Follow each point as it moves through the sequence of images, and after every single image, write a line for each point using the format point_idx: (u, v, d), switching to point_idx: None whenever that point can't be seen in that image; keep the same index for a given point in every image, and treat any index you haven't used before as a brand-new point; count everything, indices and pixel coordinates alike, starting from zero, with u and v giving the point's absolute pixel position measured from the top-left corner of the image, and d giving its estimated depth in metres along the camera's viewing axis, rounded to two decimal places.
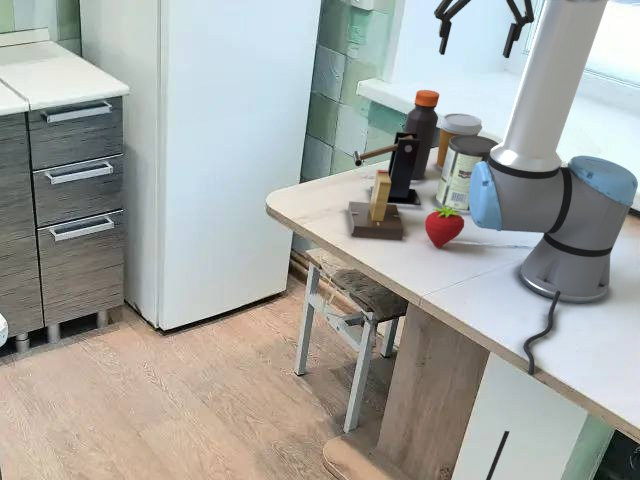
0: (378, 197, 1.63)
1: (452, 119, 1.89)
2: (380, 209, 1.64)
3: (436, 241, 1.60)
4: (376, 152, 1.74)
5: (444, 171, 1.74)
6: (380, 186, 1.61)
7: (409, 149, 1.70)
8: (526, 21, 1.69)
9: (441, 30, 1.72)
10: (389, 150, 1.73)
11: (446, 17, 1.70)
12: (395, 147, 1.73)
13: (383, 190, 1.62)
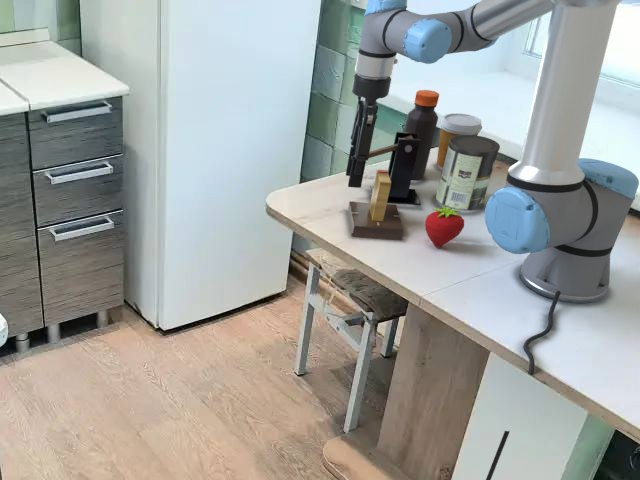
0: (378, 197, 1.63)
1: (452, 119, 1.89)
2: (380, 209, 1.64)
3: (436, 241, 1.60)
4: (376, 152, 1.74)
5: (444, 171, 1.74)
6: (380, 186, 1.61)
7: (409, 149, 1.70)
8: (357, 159, 1.71)
9: None
10: (389, 150, 1.73)
11: (351, 141, 1.78)
12: (395, 147, 1.73)
13: (383, 190, 1.62)
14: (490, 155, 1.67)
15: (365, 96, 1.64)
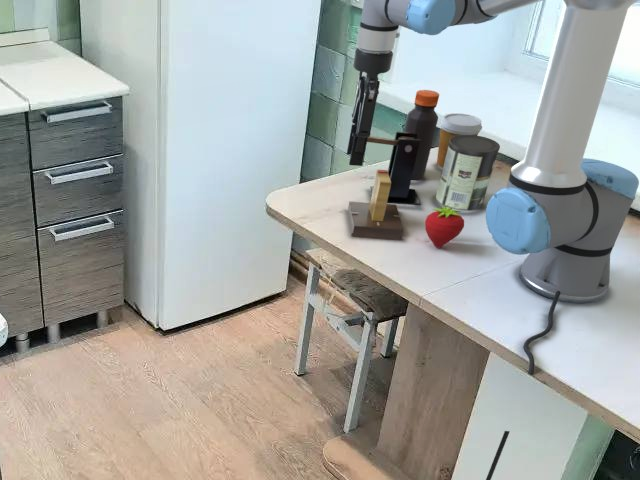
0: (378, 197, 1.63)
1: (452, 119, 1.89)
2: (380, 209, 1.64)
3: (436, 241, 1.60)
4: (377, 139, 1.72)
5: (444, 171, 1.74)
6: (380, 186, 1.61)
7: (409, 149, 1.70)
8: (359, 136, 1.68)
9: None
10: (389, 143, 1.72)
11: None
12: (396, 142, 1.72)
13: (383, 190, 1.62)
14: (490, 155, 1.67)
15: (366, 71, 1.61)
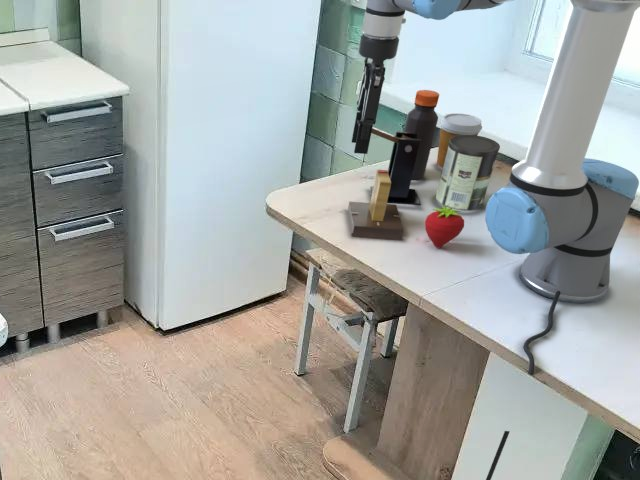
0: (378, 197, 1.63)
1: (452, 119, 1.89)
2: (380, 209, 1.64)
3: (436, 241, 1.60)
4: (380, 132, 1.71)
5: (444, 171, 1.74)
6: (380, 186, 1.61)
7: (409, 149, 1.70)
8: (364, 124, 1.66)
9: None
10: (391, 139, 1.72)
11: (358, 106, 1.73)
12: (397, 140, 1.72)
13: (383, 190, 1.62)
14: (490, 155, 1.67)
15: (372, 57, 1.60)
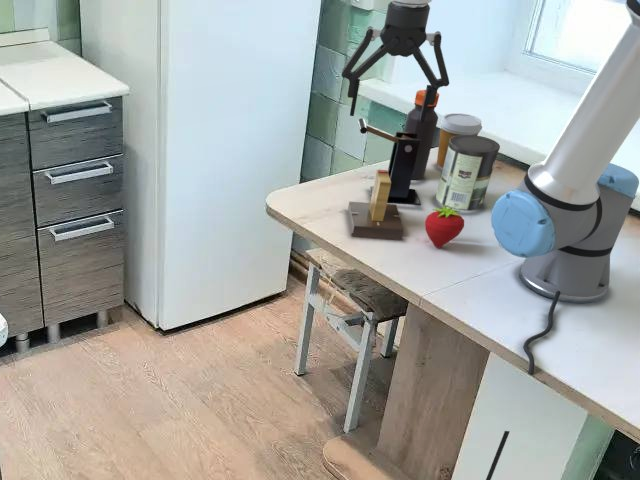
0: (378, 197, 1.63)
1: (452, 119, 1.89)
2: (380, 209, 1.64)
3: (436, 241, 1.60)
4: (380, 132, 1.71)
5: (444, 171, 1.74)
6: (380, 186, 1.61)
7: (409, 149, 1.70)
8: (441, 84, 1.54)
9: (349, 90, 1.58)
10: (391, 139, 1.72)
11: (353, 76, 1.56)
12: (397, 140, 1.72)
13: (383, 190, 1.62)
14: (490, 155, 1.67)
15: (425, 25, 1.48)
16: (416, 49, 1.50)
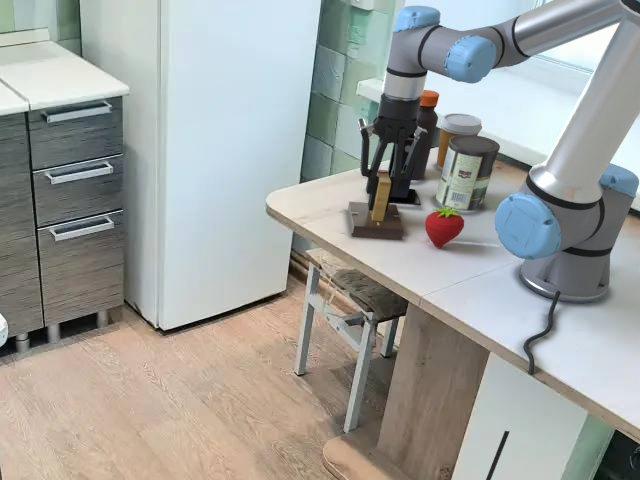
0: (378, 197, 1.63)
1: (452, 119, 1.89)
2: (380, 209, 1.64)
3: (436, 241, 1.60)
4: None
5: (444, 171, 1.74)
6: (380, 186, 1.61)
7: (409, 149, 1.70)
8: None
9: (368, 187, 1.64)
10: None
11: (371, 175, 1.62)
12: None
13: (383, 190, 1.62)
14: (490, 155, 1.67)
15: (417, 115, 1.54)
16: (403, 140, 1.57)
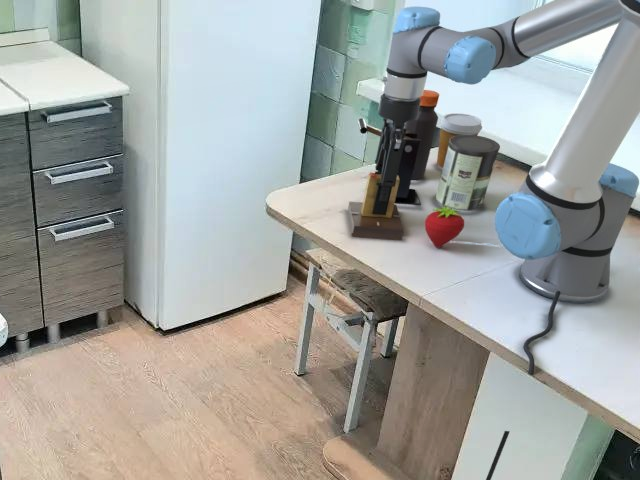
0: None
1: (452, 119, 1.89)
2: None
3: (436, 241, 1.60)
4: (380, 132, 1.71)
5: (444, 171, 1.74)
6: (398, 183, 1.63)
7: (409, 149, 1.70)
8: None
9: None
10: None
11: None
12: None
13: None
14: (490, 155, 1.67)
15: None
16: None
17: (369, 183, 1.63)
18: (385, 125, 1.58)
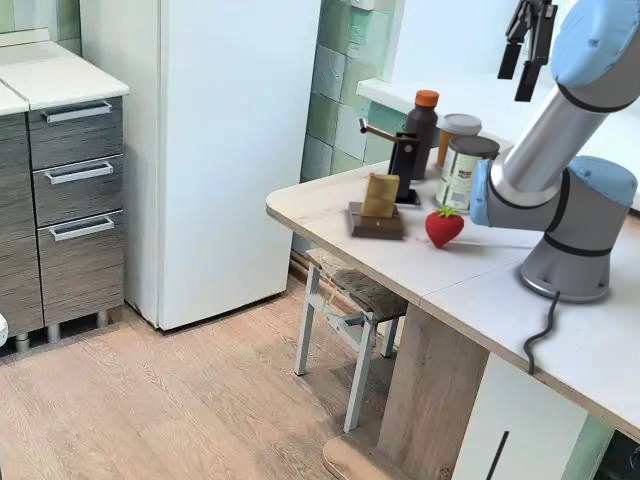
0: None
1: (452, 119, 1.89)
2: None
3: (436, 241, 1.60)
4: (380, 132, 1.71)
5: (444, 171, 1.74)
6: (398, 183, 1.63)
7: (409, 149, 1.70)
8: None
9: None
10: (391, 139, 1.72)
11: None
12: (397, 140, 1.72)
13: None
14: (490, 155, 1.67)
15: None
16: None
17: (369, 183, 1.63)
18: (527, 5, 1.45)
